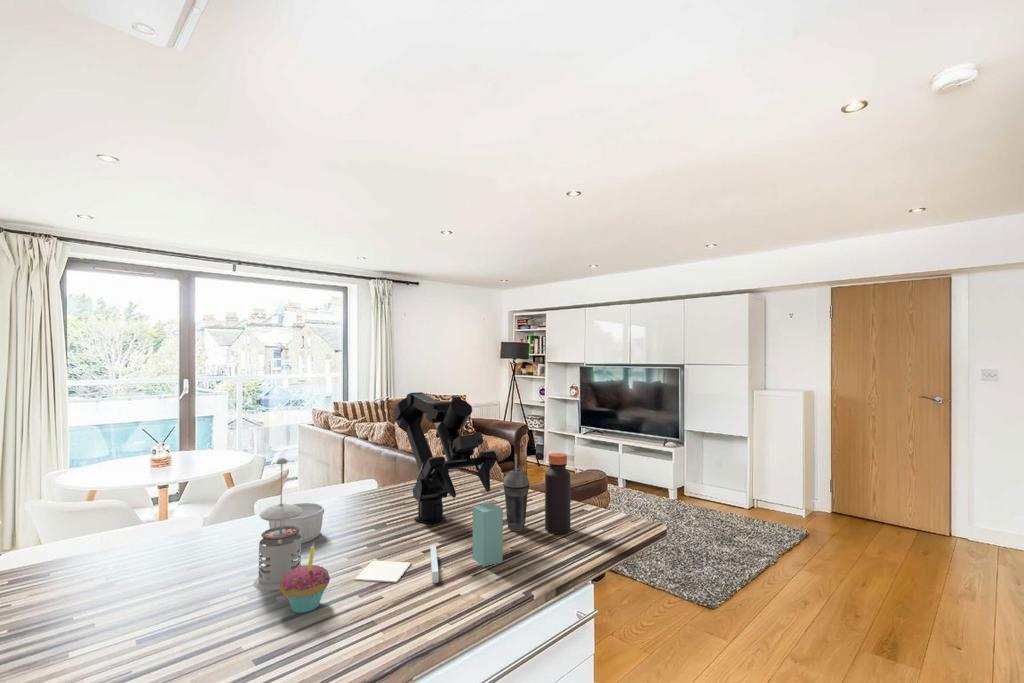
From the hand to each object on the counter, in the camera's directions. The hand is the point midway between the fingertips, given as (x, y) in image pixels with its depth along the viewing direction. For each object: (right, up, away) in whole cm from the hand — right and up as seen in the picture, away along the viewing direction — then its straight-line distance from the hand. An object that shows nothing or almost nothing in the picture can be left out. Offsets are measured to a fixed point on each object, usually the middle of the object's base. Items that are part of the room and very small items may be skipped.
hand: (472, 493), depth 116 cm
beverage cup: (+11, -14, +14) cm, 22 cm away
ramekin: (-46, -14, +7) cm, 48 cm away
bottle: (+22, -14, +13) cm, 29 cm away
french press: (-39, -13, -15) cm, 44 cm away
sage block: (+4, -13, -7) cm, 15 cm away
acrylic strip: (-7, -13, -11) cm, 18 cm away
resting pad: (-18, -13, -13) cm, 25 cm away
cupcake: (-29, -12, -27) cm, 41 cm away
